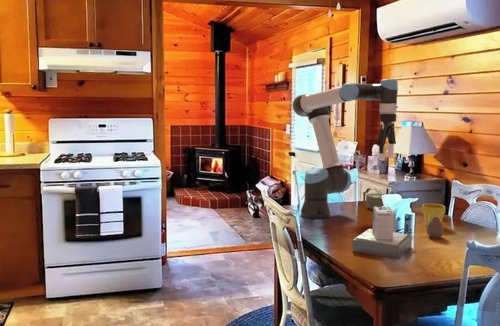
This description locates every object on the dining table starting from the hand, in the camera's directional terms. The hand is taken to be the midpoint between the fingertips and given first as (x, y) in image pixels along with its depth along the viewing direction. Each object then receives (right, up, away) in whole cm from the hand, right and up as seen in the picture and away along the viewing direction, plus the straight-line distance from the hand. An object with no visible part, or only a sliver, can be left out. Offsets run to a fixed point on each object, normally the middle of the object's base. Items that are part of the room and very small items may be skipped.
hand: (386, 159), depth 230 cm
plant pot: (+23, -32, +4) cm, 40 cm away
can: (+7, -27, +43) cm, 51 cm away
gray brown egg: (+17, -34, -16) cm, 41 cm away
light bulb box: (-11, -31, -34) cm, 48 cm away
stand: (-11, -36, -34) cm, 51 cm away
